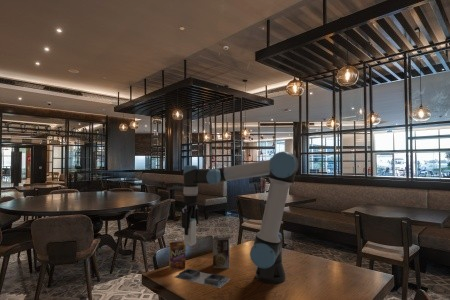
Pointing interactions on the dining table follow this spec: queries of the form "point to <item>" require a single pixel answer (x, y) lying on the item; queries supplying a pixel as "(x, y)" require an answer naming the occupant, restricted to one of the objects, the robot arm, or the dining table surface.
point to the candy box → (177, 254)
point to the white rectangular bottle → (191, 233)
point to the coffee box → (221, 252)
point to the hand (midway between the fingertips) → (190, 239)
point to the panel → (203, 278)
